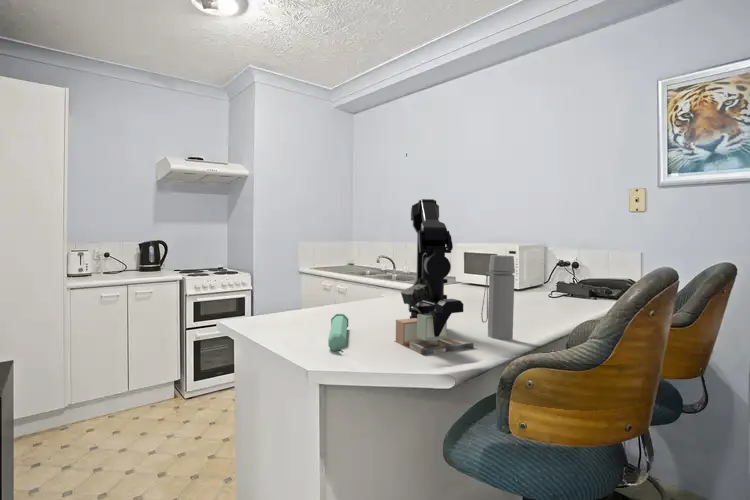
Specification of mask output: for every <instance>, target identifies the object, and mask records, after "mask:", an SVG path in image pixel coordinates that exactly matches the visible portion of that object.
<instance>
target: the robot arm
mask: <svg viewBox="0 0 750 500" xmlns="http://www.w3.org/2000/svg"><path fill="white" fill-rule="evenodd" d="M439 218H440V206H439V205H438V204H437V200H435V199H432V198H431V199H430V198H429V199H427V198H424V199H419V200H418V202H417V203H414V204H412V205H411V208H410V220H411V222H412V227H413V229H414V230H415V231H414V232H416V235H417V236H416V237H417V241H416V242H417V244H416V280H415V282H413V285H411V286H410V287H408V288H404V289H403V290H401V291H400V294H401V298H402V301H403V304H404V305H408V312H409V313H410V316H409V319H412V318H417V314H426V313H431V315H432V316H433V324H434V336H435V337H438V336H439V335H440V333H441V331H442V329H443V327H444V325H445V323H446V322H447V321H448V320H449V319H450V317H451V316H452V314H458V313H464V307H465V306H464V303H463V302H462V300H459V299H456V298H448V295H447V294H445V292H444V291H445V288H444V287H445V284H448V278H446V277H447V276H448V275H449V274H450V271H451V269H452V266H451V262H450V260H449V259H448V257H446V254H451V253H452V251H453V245H454V244H453V238H452V235H451V234H450V231H449V230H448V229H447V228H448V227H447V226H446V224H445V223H444V222H441V221H440V219H439ZM447 323H448V322H447Z"/></svg>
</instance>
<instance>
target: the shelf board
mask: <svg viewBox="0 0 750 500" xmlns="http://www.w3.org/2000/svg"><path fill="white" fill-rule="evenodd" d="M393 342H394V343H395V344H396V343H397V344H398V345H401V346H403V347H405V348H408V349H409V350H412V351H413V352H415V353H417V354H420V355H422V356H425V355H426V356H427V355H436V354H440V353H447V352H455V351H461V350H468V349H474V346H475V343H474V342H466V343H462V342H459V341H456V340H455V339H454V340H453V339H452V338H449V337H446V338H443V339H435V340H427V341H425V340H421V341H412V342H410V344H407V345H402V344H400V343H398V342H396V340H394V341H393Z"/></svg>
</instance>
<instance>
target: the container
mask: <svg viewBox="0 0 750 500" xmlns="http://www.w3.org/2000/svg"><path fill="white" fill-rule="evenodd" d="M348 328H349V317H348V316H346V315H345V313H335V314H334V315H333V316H332V317H331V319H330V329H329V336H328V343H327V344H328V347H329V348H330V349H331V350H332V351H334V352H341V351H342V349H341V348H344V347H346V346H347V335H348V333H347V332H348V331H347V330H348Z"/></svg>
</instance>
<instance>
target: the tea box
mask: <svg viewBox="0 0 750 500" xmlns="http://www.w3.org/2000/svg"><path fill="white" fill-rule="evenodd" d="M447 323H448V322H446V323H445V325H444V327H443V329H442V331H441V333H440V335H439V336H438V337H435V336H434V324H433V316H432V315H431V313H426V314H417V337H418V338H420V339H422V340H425V341H427V340H435V339H443V338H447V330H448V329H447V325H448V324H447Z"/></svg>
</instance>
